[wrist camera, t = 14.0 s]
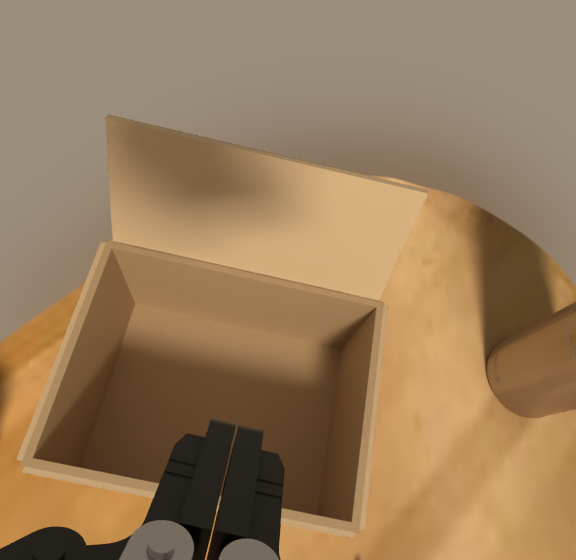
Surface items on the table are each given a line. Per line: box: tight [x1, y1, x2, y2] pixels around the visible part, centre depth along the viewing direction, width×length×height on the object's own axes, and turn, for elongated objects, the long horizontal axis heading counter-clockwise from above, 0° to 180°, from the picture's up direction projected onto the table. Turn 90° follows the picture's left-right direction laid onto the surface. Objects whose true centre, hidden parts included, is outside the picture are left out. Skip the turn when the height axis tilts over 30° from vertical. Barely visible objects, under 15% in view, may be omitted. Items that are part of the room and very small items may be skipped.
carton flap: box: [106, 115, 428, 300], centre depth 38 cm, size 23×11×1 cm
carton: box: [16, 240, 388, 539], centre depth 45 cm, size 25×18×14 cm
